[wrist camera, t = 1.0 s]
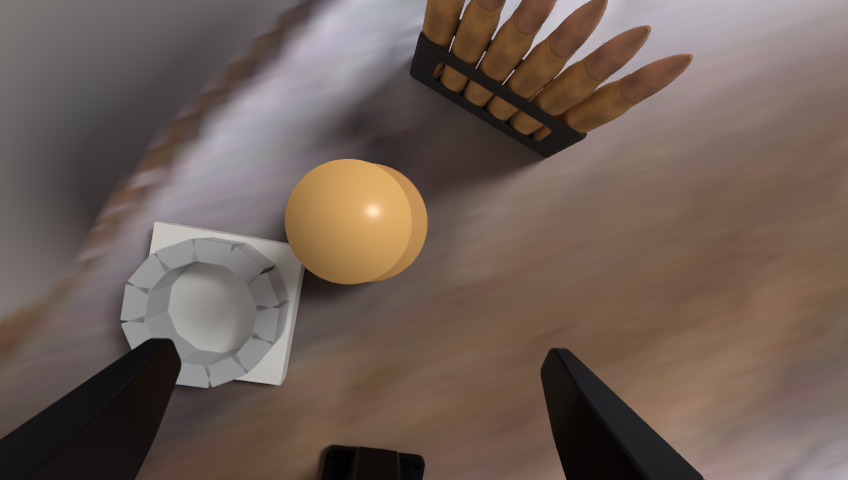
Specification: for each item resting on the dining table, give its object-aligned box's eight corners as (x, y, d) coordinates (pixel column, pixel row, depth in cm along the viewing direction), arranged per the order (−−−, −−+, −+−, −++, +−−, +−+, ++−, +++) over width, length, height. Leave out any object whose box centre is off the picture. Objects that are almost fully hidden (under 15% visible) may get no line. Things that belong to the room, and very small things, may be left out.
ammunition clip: (408, 75, 23) (429, -86, 11) (422, 49, 23) (458, -137, 11) (547, 158, 24) (700, 94, 12) (560, 134, 24) (726, 47, 12)
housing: (285, 376, 23) (269, 401, 20) (145, 357, 22) (104, 380, 19) (308, 246, 23) (295, 249, 20) (167, 221, 22) (129, 221, 19)
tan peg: (411, 279, 24) (437, 347, 11) (313, 263, 23) (215, 313, 10) (429, 184, 23) (477, 134, 10) (331, 164, 23) (253, 86, 10)
